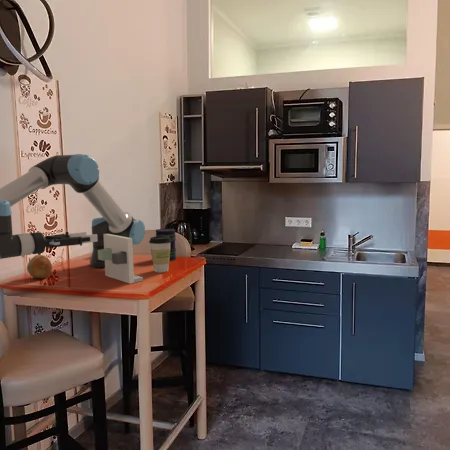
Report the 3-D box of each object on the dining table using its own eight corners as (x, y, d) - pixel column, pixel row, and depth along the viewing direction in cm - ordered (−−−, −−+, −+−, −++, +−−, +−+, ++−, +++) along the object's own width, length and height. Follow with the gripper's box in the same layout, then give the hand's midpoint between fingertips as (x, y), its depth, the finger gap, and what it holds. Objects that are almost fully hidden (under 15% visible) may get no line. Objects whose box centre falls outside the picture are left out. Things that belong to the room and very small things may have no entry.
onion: (22, 280, 196) (20, 256, 195) (39, 275, 205) (37, 252, 204) (41, 281, 192) (39, 257, 191) (57, 276, 202) (56, 253, 200)
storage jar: (152, 260, 233) (151, 230, 231) (162, 257, 242) (161, 228, 240) (170, 261, 229) (169, 231, 227) (179, 258, 238) (179, 228, 236)
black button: (112, 263, 187) (111, 253, 187) (125, 261, 191) (125, 251, 191) (117, 264, 184) (116, 254, 184) (130, 262, 188) (130, 252, 188)
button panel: (105, 275, 201) (103, 234, 199) (117, 273, 205) (116, 232, 203) (129, 283, 187) (127, 238, 184) (142, 280, 191) (140, 237, 188)
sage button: (98, 259, 196) (97, 249, 196) (111, 257, 200) (110, 248, 200) (102, 260, 193) (102, 251, 193) (115, 258, 197) (115, 249, 197)
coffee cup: (168, 273, 203) (167, 239, 201) (146, 273, 205) (145, 239, 203) (175, 268, 213) (174, 236, 211) (154, 268, 215) (153, 235, 213)
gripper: (20, 250, 171) (79, 243, 187) (43, 258, 156) (105, 249, 171) (19, 230, 171) (78, 224, 186) (41, 236, 155) (104, 229, 170)
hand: (91, 236), depth 178 cm, fingers open, 8 cm apart
